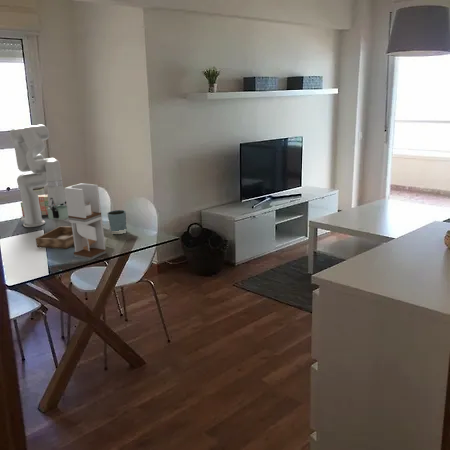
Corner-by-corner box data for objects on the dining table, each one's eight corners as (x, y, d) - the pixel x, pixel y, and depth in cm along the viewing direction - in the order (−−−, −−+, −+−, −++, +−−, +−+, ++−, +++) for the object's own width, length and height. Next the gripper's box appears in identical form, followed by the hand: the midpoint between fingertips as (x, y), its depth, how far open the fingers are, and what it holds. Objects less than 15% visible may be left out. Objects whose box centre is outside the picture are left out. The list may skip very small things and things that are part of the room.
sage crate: (48, 219, 274) (47, 208, 272) (55, 216, 279) (54, 205, 278) (65, 219, 271) (63, 208, 269) (71, 216, 277) (70, 205, 275)
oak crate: (37, 247, 272) (35, 238, 270) (60, 234, 292) (59, 226, 290) (66, 248, 267) (65, 239, 265) (88, 235, 287) (87, 227, 285)
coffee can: (28, 208, 353) (25, 188, 349) (34, 205, 363) (31, 185, 359) (43, 208, 353) (40, 188, 349) (49, 204, 363) (46, 185, 359)
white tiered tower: (74, 256, 255) (64, 187, 245) (89, 249, 264) (81, 183, 253) (90, 259, 249) (81, 189, 239) (106, 252, 258) (97, 184, 248)
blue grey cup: (123, 235, 284) (121, 214, 281) (106, 235, 286) (104, 214, 283) (130, 230, 294) (128, 209, 290) (114, 229, 296) (111, 209, 292)
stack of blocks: (22, 216, 335) (19, 198, 331) (25, 214, 341) (22, 196, 337) (55, 214, 336) (53, 196, 333) (57, 211, 342) (55, 193, 339)
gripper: (58, 180, 279) (63, 211, 284) (39, 186, 263) (44, 220, 268) (70, 180, 277) (74, 212, 282) (51, 187, 261) (56, 220, 266)
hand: (60, 215), depth 275 cm, fingers closed on sage crate, 6 cm apart
